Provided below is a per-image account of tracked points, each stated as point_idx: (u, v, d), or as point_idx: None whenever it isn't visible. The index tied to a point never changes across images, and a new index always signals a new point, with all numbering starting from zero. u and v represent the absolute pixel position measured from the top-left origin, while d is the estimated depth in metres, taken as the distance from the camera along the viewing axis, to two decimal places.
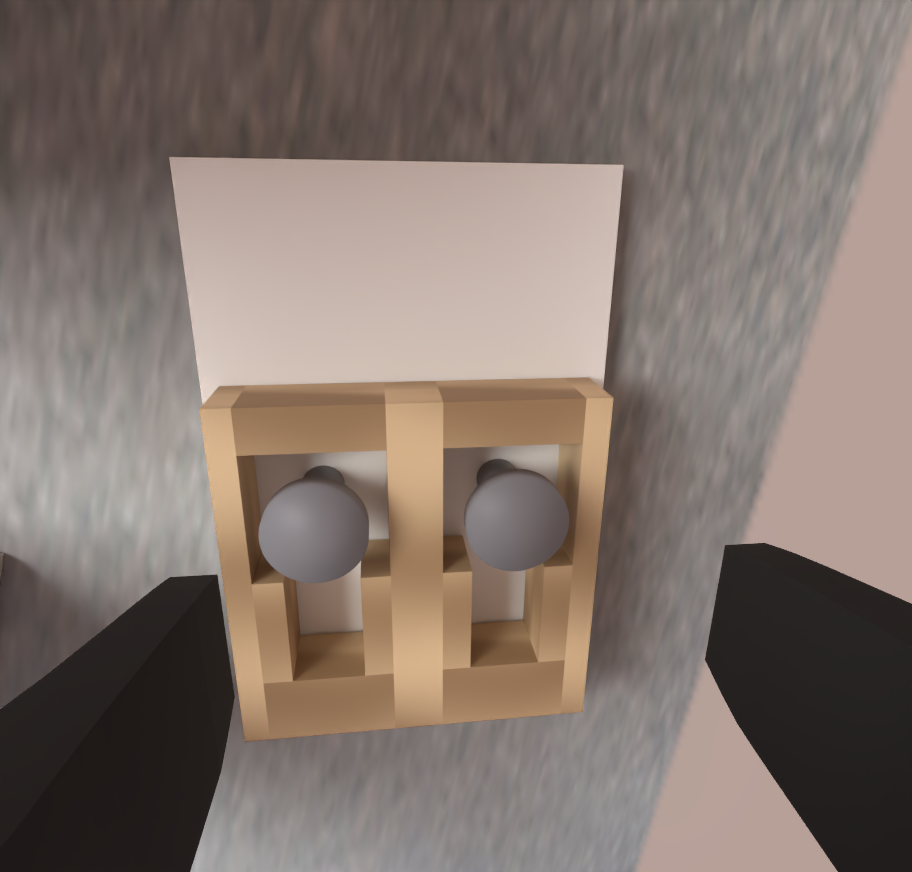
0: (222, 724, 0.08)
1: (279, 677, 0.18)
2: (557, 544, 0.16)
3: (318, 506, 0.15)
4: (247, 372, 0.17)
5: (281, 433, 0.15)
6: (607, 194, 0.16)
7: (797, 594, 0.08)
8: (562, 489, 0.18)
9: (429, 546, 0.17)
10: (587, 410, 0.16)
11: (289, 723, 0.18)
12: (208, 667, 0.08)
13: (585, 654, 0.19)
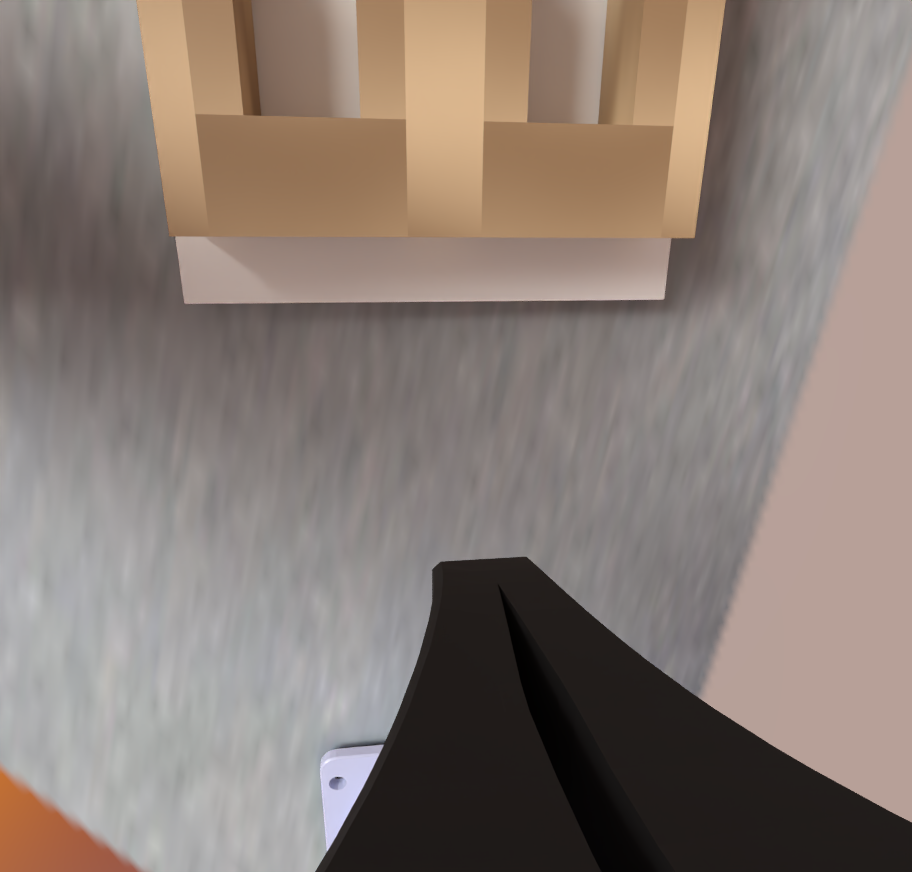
0: None
1: (220, 105, 0.11)
2: None
3: None
4: None
5: None
6: None
7: (510, 613, 0.07)
8: None
9: None
10: None
11: (240, 207, 0.11)
12: None
13: (705, 117, 0.12)
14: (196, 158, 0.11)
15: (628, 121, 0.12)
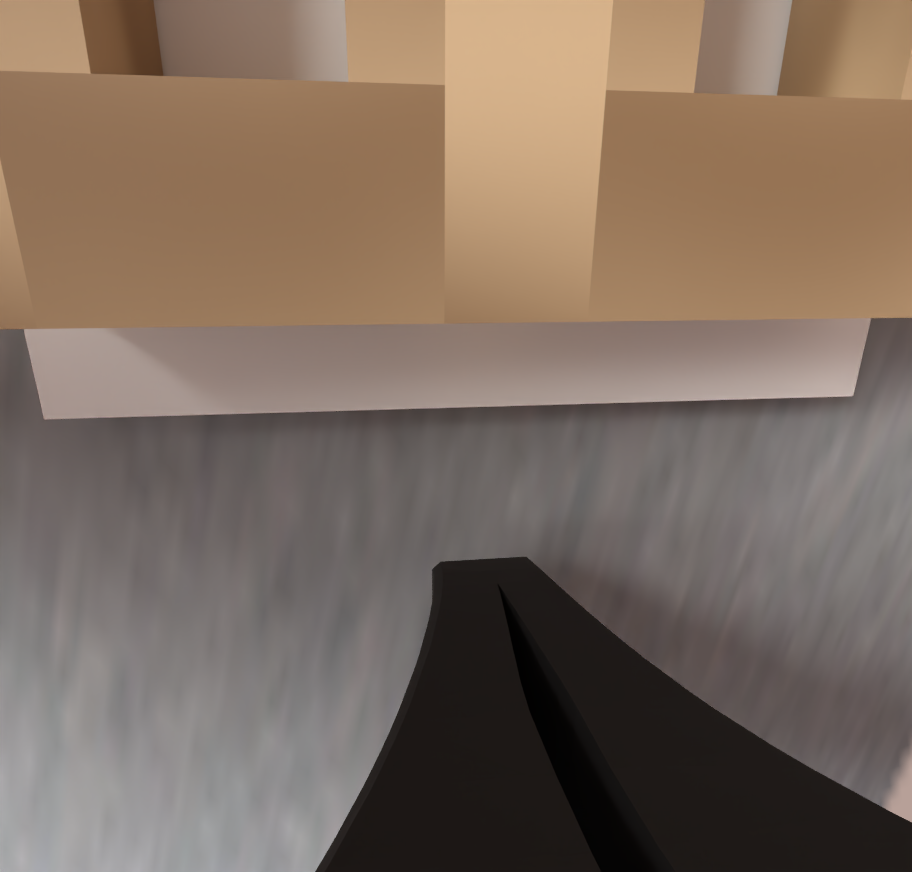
0: None
1: (36, 49, 0.05)
2: None
3: None
4: None
5: None
6: None
7: (510, 613, 0.07)
8: None
9: None
10: None
11: (99, 270, 0.05)
12: None
13: None
14: None
15: (884, 93, 0.06)
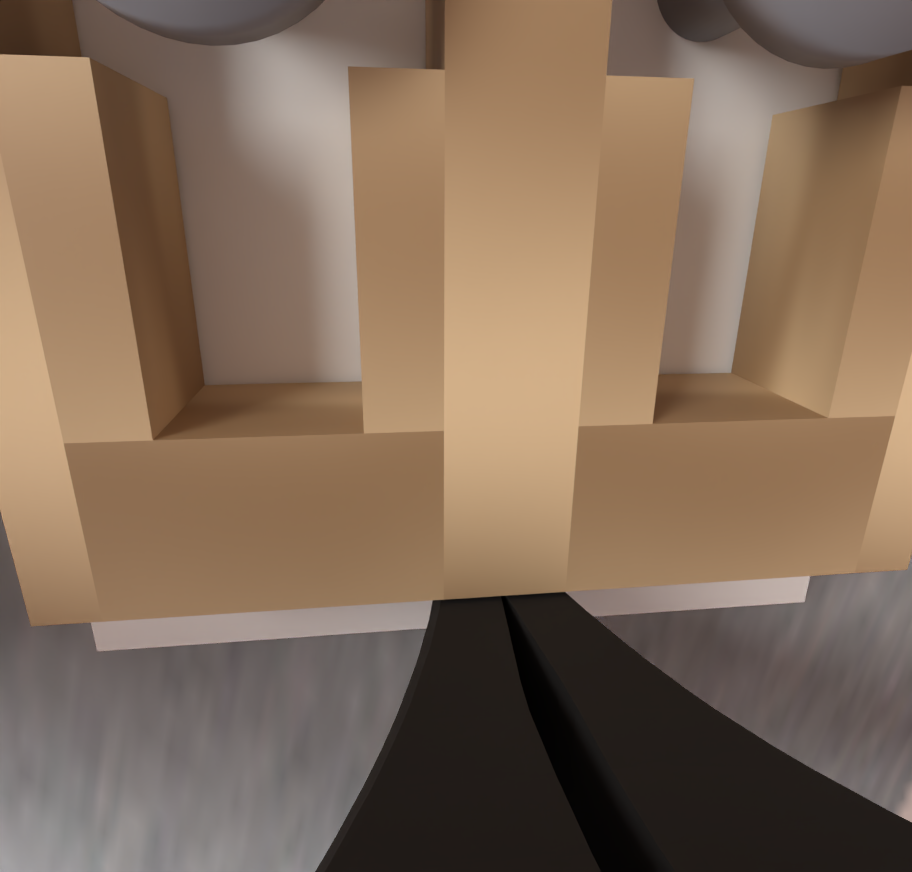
0: None
1: (108, 426, 0.06)
2: None
3: None
4: None
5: None
6: None
7: (510, 613, 0.07)
8: None
9: None
10: None
11: (155, 577, 0.07)
12: None
13: None
14: (71, 510, 0.06)
15: (816, 404, 0.07)
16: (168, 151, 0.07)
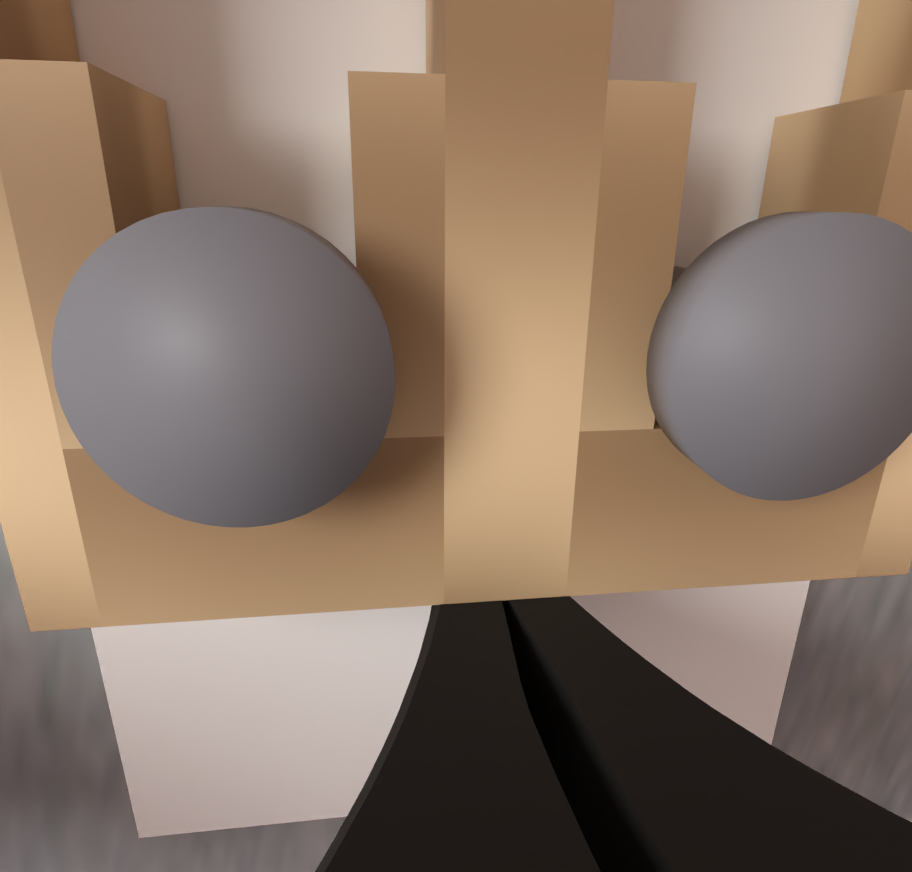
0: None
1: None
2: (902, 427, 0.06)
3: (238, 278, 0.05)
4: None
5: None
6: None
7: (509, 613, 0.07)
8: None
9: None
10: None
11: (153, 581, 0.07)
12: None
13: None
14: (69, 516, 0.06)
15: None
16: (167, 154, 0.07)
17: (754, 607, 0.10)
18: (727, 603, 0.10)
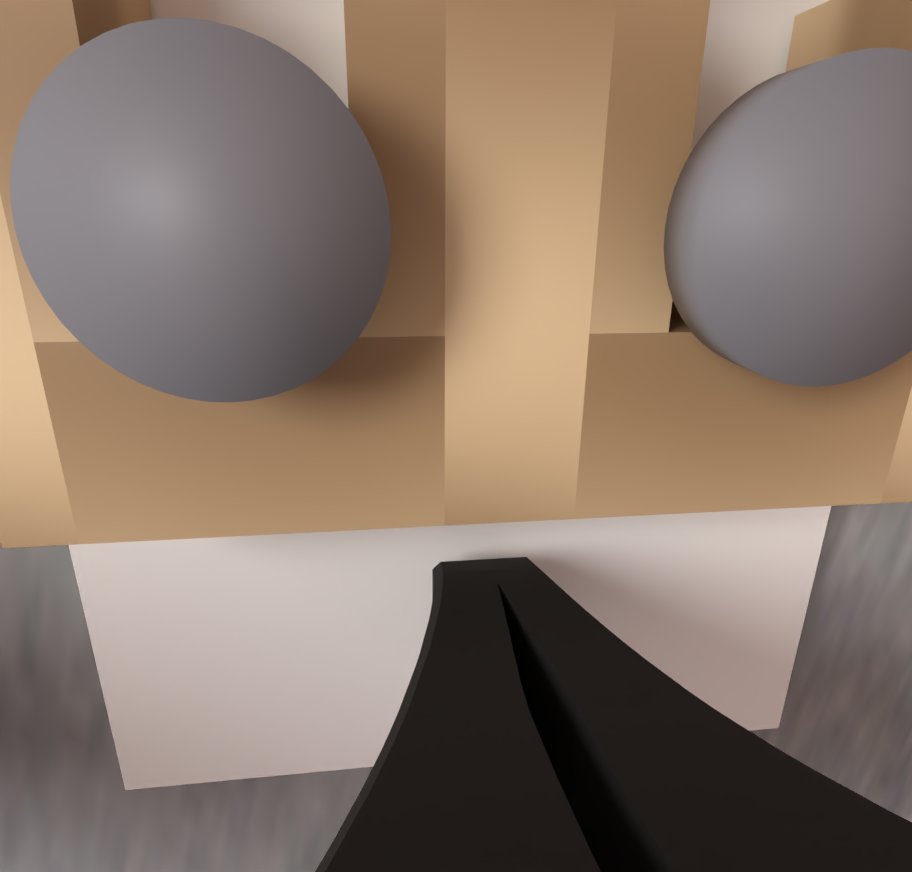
0: None
1: None
2: None
3: (217, 105, 0.04)
4: None
5: None
6: None
7: (510, 613, 0.07)
8: None
9: None
10: None
11: (135, 495, 0.06)
12: None
13: None
14: (43, 418, 0.06)
15: None
16: None
17: (769, 548, 0.10)
18: (741, 542, 0.10)
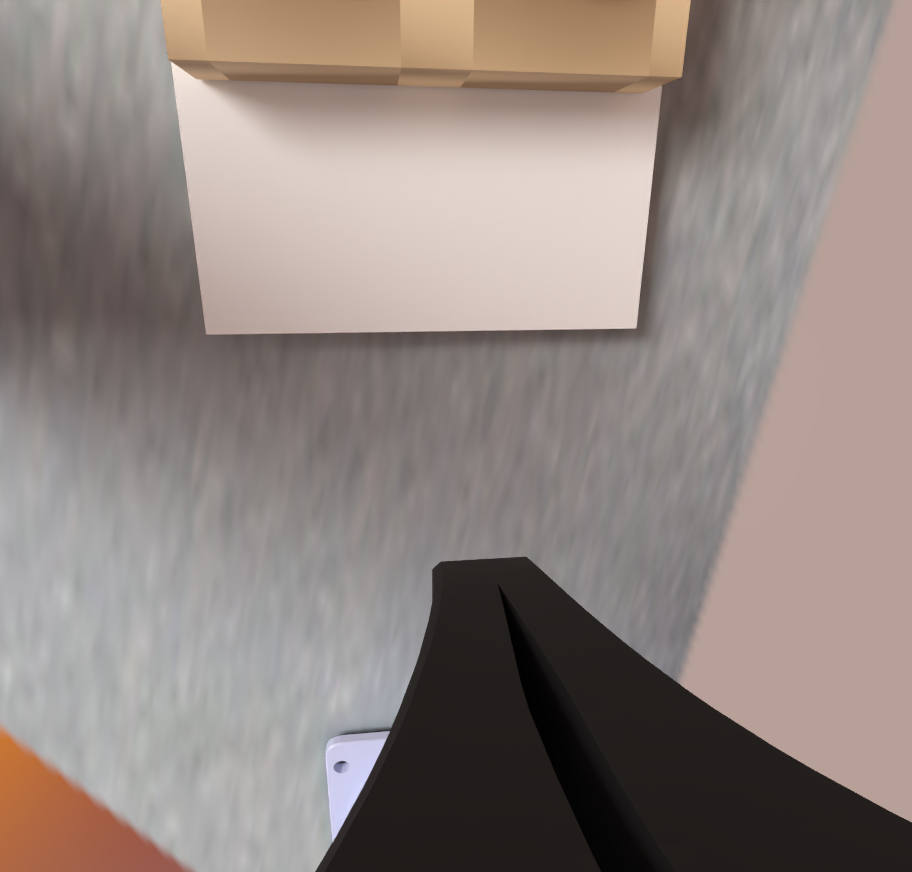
0: None
1: None
2: None
3: None
4: None
5: None
6: None
7: (510, 614, 0.07)
8: None
9: None
10: None
11: (237, 30, 0.12)
12: None
13: None
14: None
15: None
16: None
17: (617, 177, 0.15)
18: (598, 171, 0.15)
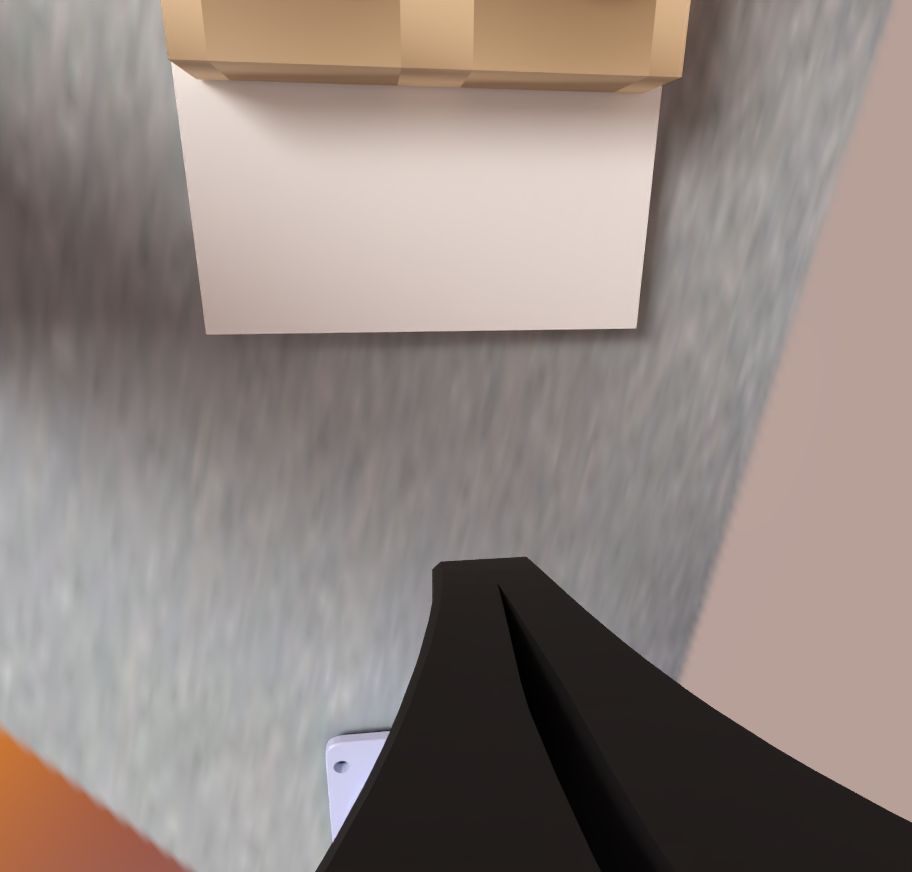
0: None
1: None
2: None
3: None
4: None
5: None
6: None
7: (510, 614, 0.07)
8: None
9: None
10: None
11: (238, 30, 0.12)
12: None
13: None
14: None
15: None
16: None
17: (617, 178, 0.15)
18: (598, 171, 0.15)
